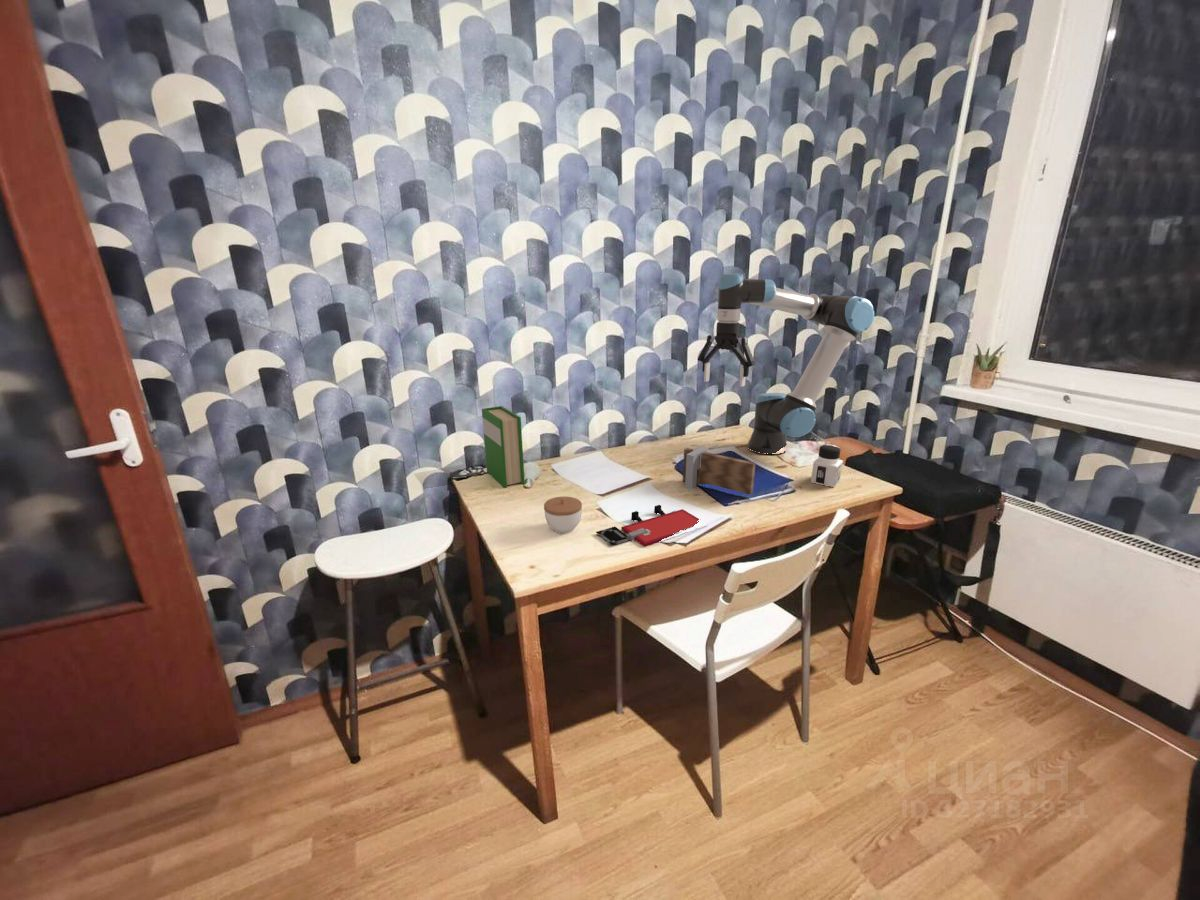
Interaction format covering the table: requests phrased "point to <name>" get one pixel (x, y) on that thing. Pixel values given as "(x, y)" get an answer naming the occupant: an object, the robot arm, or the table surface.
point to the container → (827, 466)
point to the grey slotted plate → (693, 467)
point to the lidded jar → (563, 513)
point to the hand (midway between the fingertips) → (724, 383)
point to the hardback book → (503, 445)
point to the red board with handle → (650, 527)
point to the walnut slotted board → (724, 472)
